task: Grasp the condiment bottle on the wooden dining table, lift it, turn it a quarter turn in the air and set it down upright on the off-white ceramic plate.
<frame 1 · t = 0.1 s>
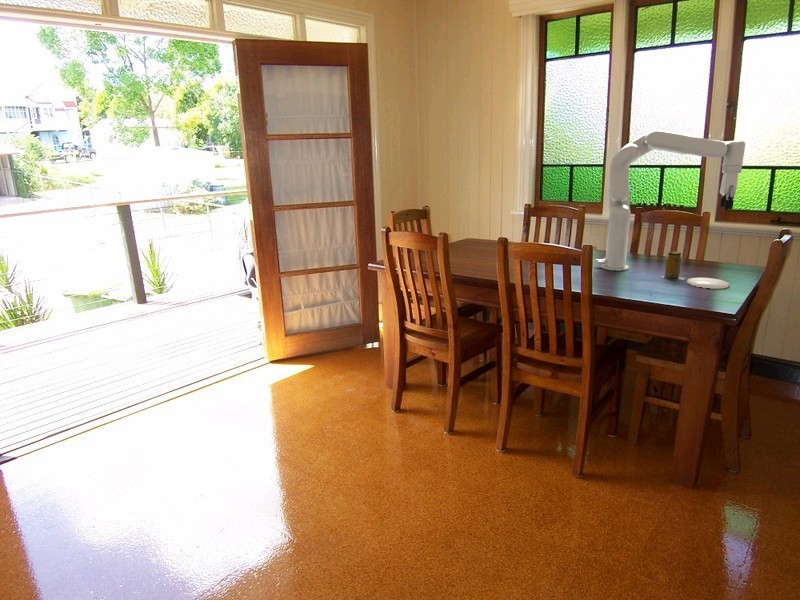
hand: (726, 207, 247), 31 cm above the table, tool pointing down, fingers open, 9 cm apart
condiment: (672, 278, 251), on the table
plate: (707, 284, 239), on the table
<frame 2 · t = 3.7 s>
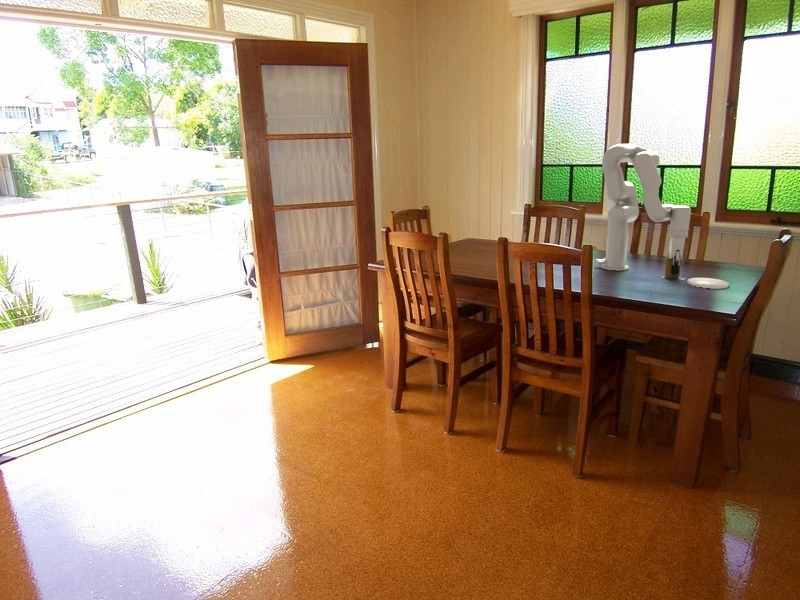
hand: (673, 271, 250), 3 cm above the table, tool pointing down, fingers closed on condiment, 6 cm apart
condiment: (673, 278, 250), on the table, touching gripper
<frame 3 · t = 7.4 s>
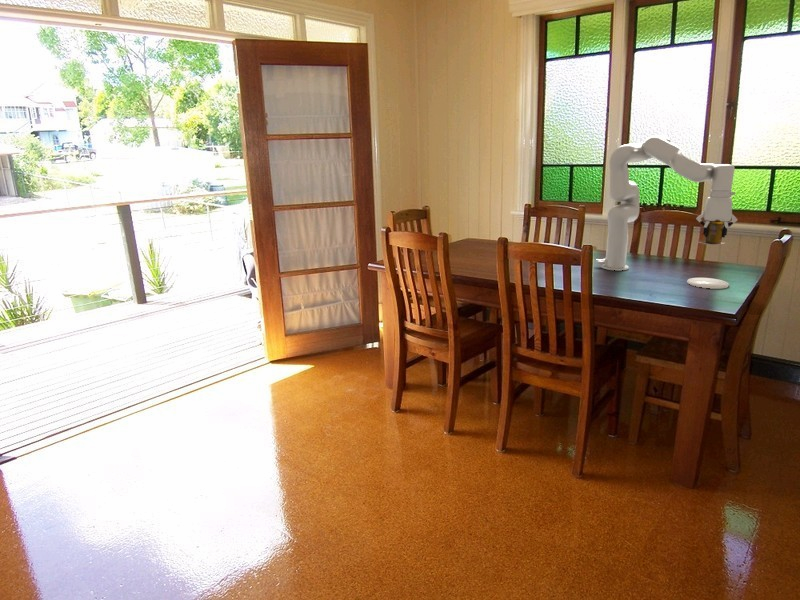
hand: (714, 236, 233), 21 cm above the table, tool pointing down, fingers closed on condiment, 6 cm apart
condiment: (711, 243, 234), point 18 cm above the table, touching gripper
when the fingers open (5 cm above the table, at t = 10.8 s): condiment drops 1 cm, resting on plate.
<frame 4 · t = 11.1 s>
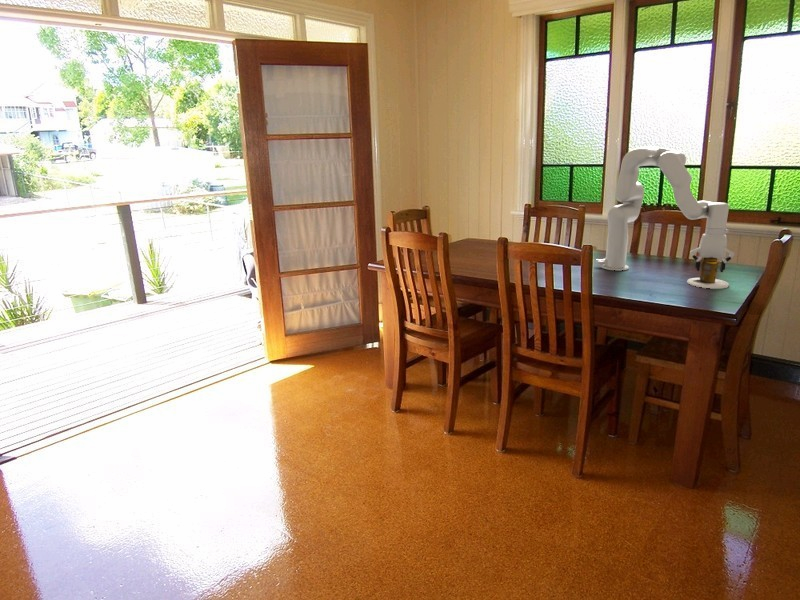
hand: (709, 270, 237), 6 cm above the table, tool pointing down, fingers open, 8 cm apart
condiment: (705, 282, 239), point 1 cm above the table, touching plate
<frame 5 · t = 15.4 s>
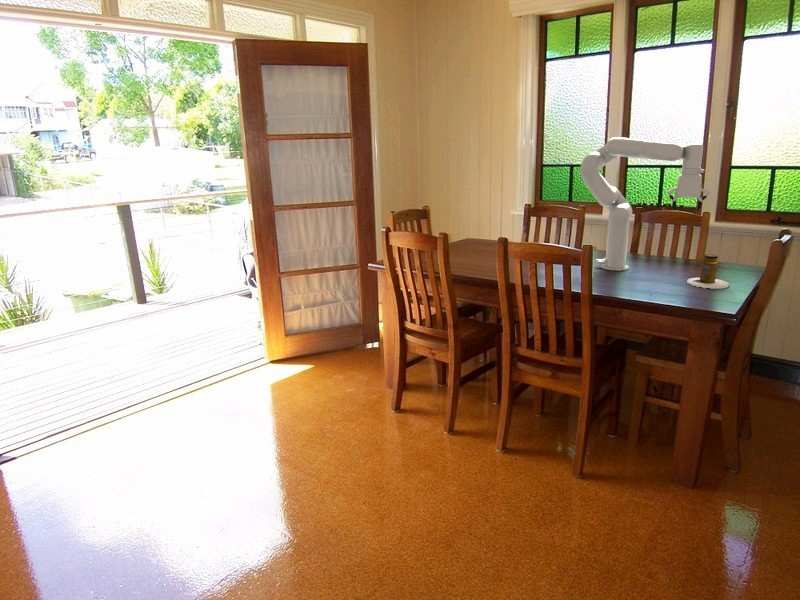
hand: (685, 209, 250), 30 cm above the table, tool pointing down, fingers open, 9 cm apart
nothing on the table moved.
at the end: condiment inside the target area on the plate (0.9 cm from its centre), point 0.8 cm above the plate's base; condiment tilted 0°; the gripper is holding nothing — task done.
